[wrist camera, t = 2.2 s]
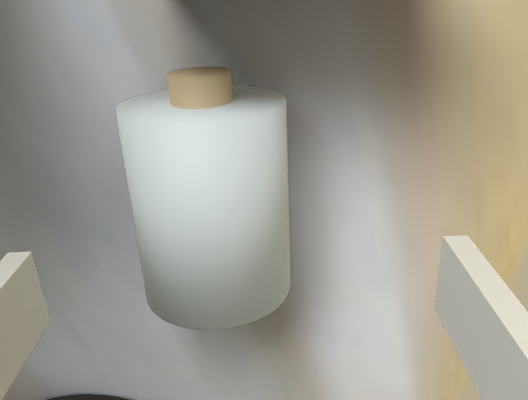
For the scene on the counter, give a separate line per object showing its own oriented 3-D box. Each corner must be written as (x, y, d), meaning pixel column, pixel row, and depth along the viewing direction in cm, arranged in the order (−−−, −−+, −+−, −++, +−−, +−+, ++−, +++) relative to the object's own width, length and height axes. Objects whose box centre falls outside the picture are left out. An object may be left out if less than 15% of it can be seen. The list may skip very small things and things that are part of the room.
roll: (306, 276, 27) (264, 366, 21) (189, 259, 29) (121, 335, 23) (304, 59, 22) (250, 92, 16) (166, 58, 24) (71, 87, 18)
